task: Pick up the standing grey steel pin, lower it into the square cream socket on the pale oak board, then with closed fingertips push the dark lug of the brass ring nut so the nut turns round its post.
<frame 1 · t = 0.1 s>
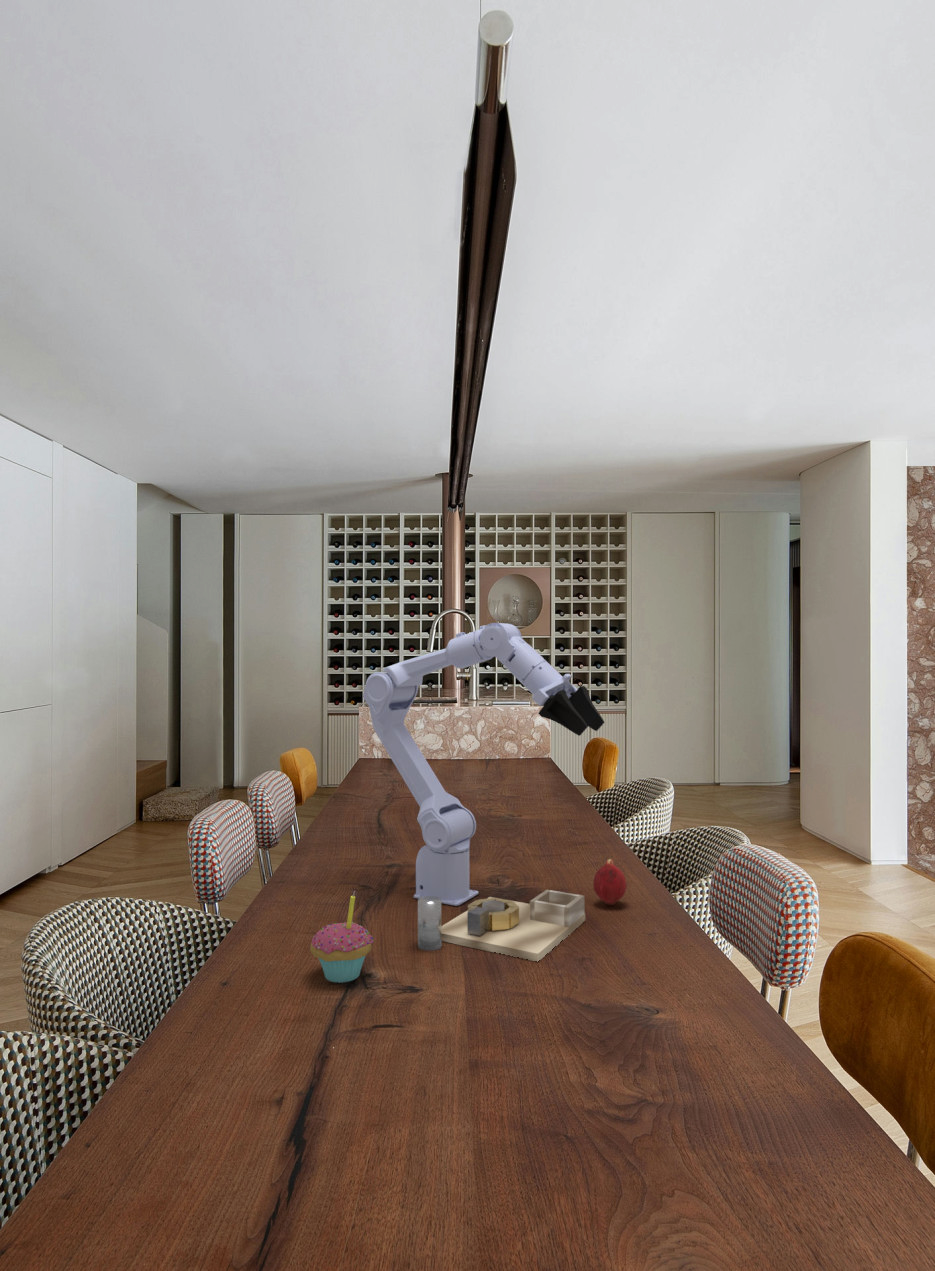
hand: (592, 728, 127), 32 cm above the table, tool tilted 50°, fingers open, 7 cm apart
ring nut: (489, 913, 123), point 3 cm above the table, hinge at 0.0°
pin: (429, 946, 117), on the table
onion: (610, 906, 135), on the table
board: (511, 929, 124), on the table
cupcake: (341, 977, 107), on the table
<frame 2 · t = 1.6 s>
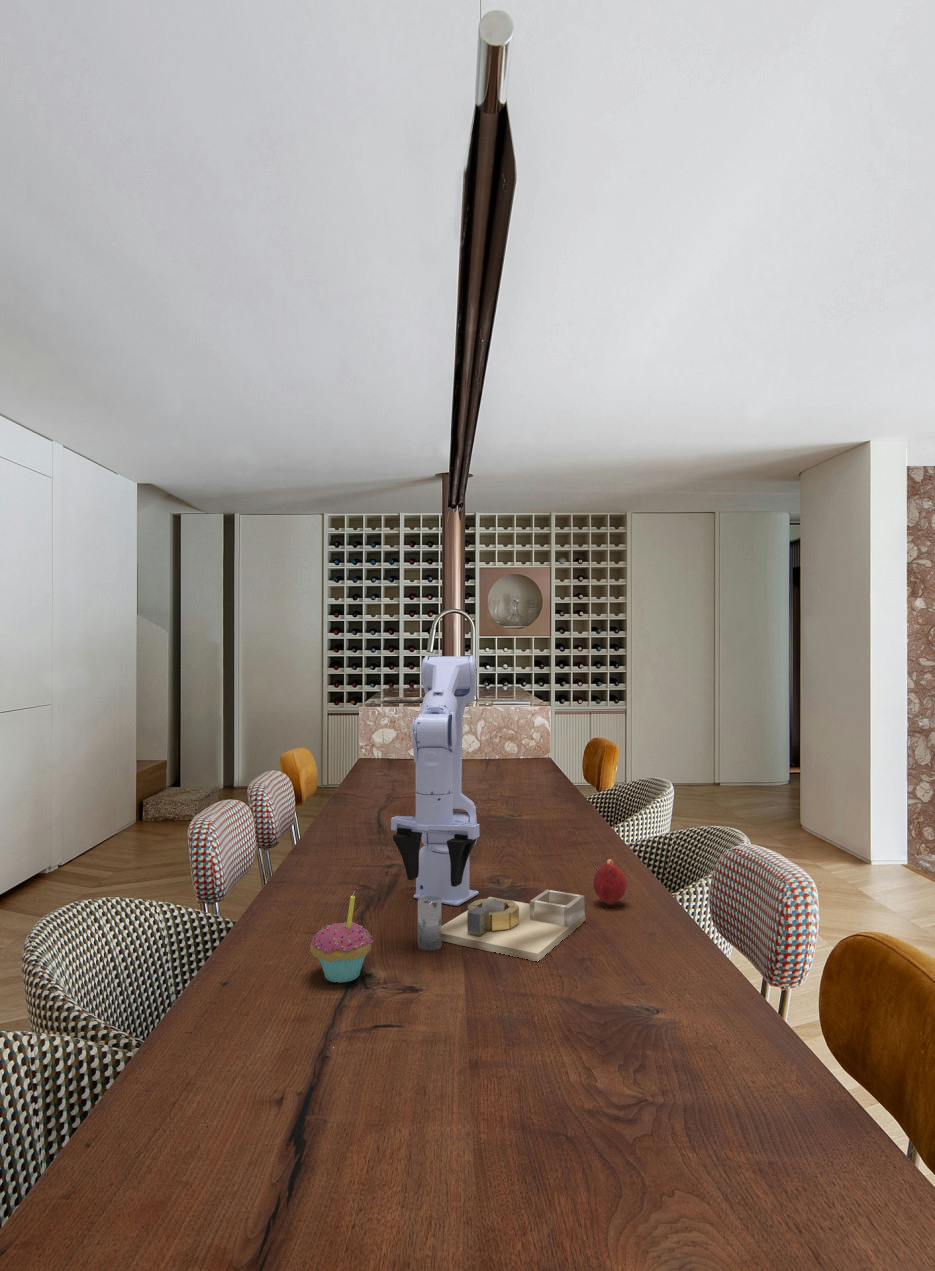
hand: (434, 881, 117), 10 cm above the table, tool pointing down, fingers open, 7 cm apart
nothing on the table moved.
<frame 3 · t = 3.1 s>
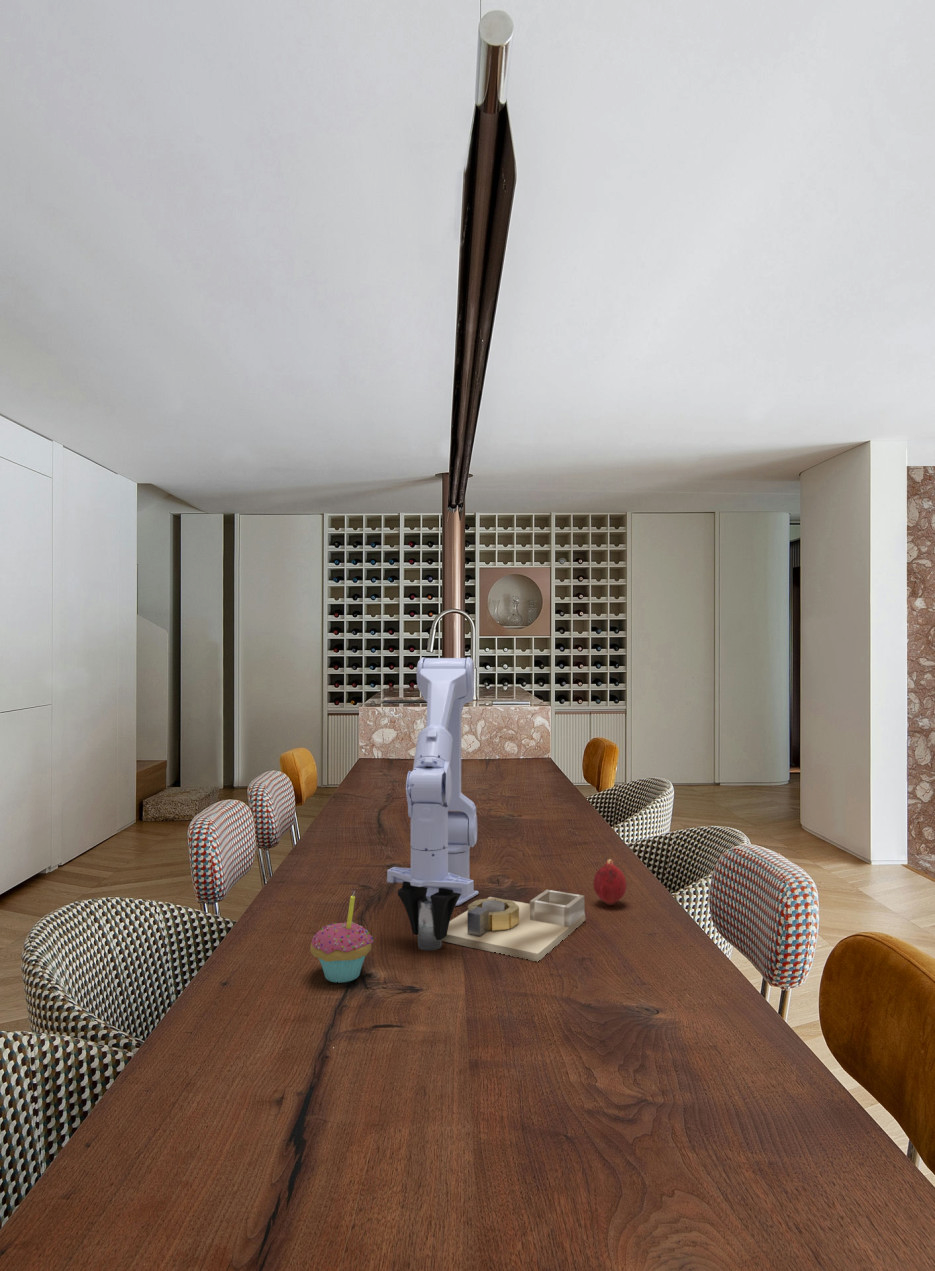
hand: (429, 935, 117), 2 cm above the table, tool pointing down, fingers closed on pin, 4 cm apart
pin: (429, 945, 117), on the table, touching gripper
everything else where it was.
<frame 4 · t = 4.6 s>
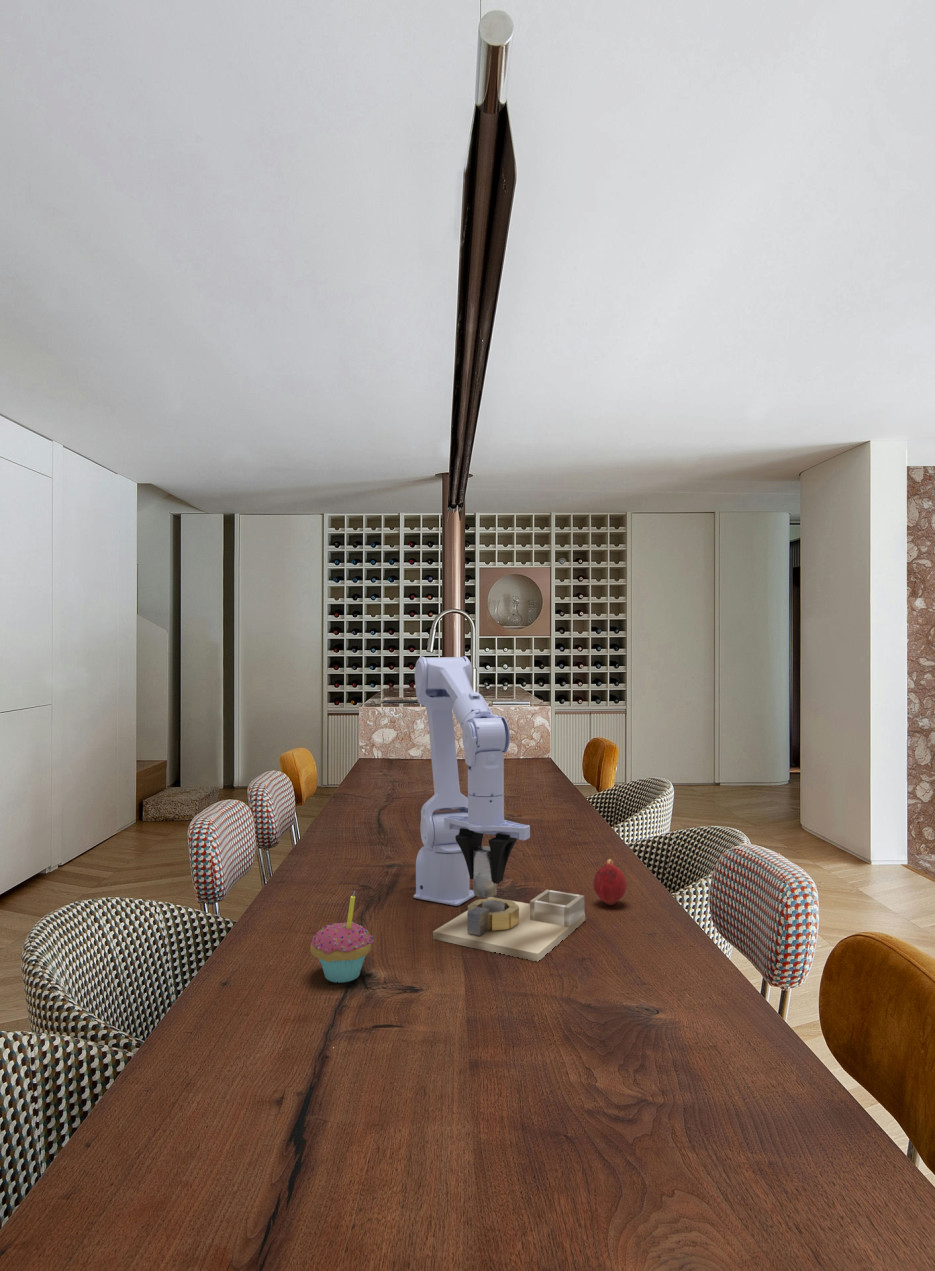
hand: (486, 879, 121), 9 cm above the table, tool pointing down, fingers closed on pin, 4 cm apart
pin: (485, 893, 121), point 7 cm above the table, touching gripper
everything else where it was.
when the fingers open (5 cm above the table, at t = 6.4 s): pin drops 1 cm, resting on board.
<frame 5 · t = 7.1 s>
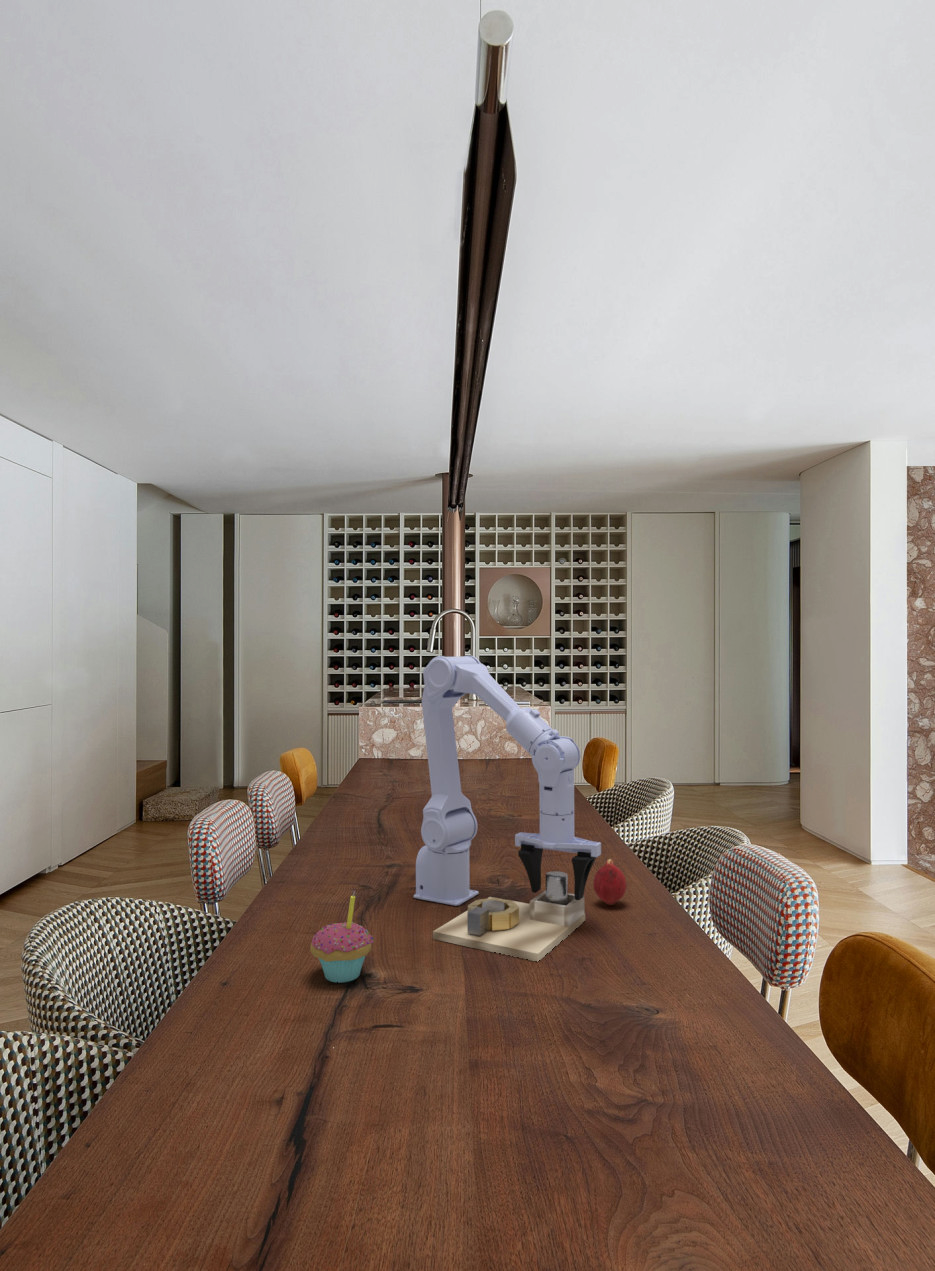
hand: (557, 894, 126), 5 cm above the table, tool pointing down, fingers open, 7 cm apart
pin: (556, 917, 126), point 1 cm above the table, touching board
everything else where it was.
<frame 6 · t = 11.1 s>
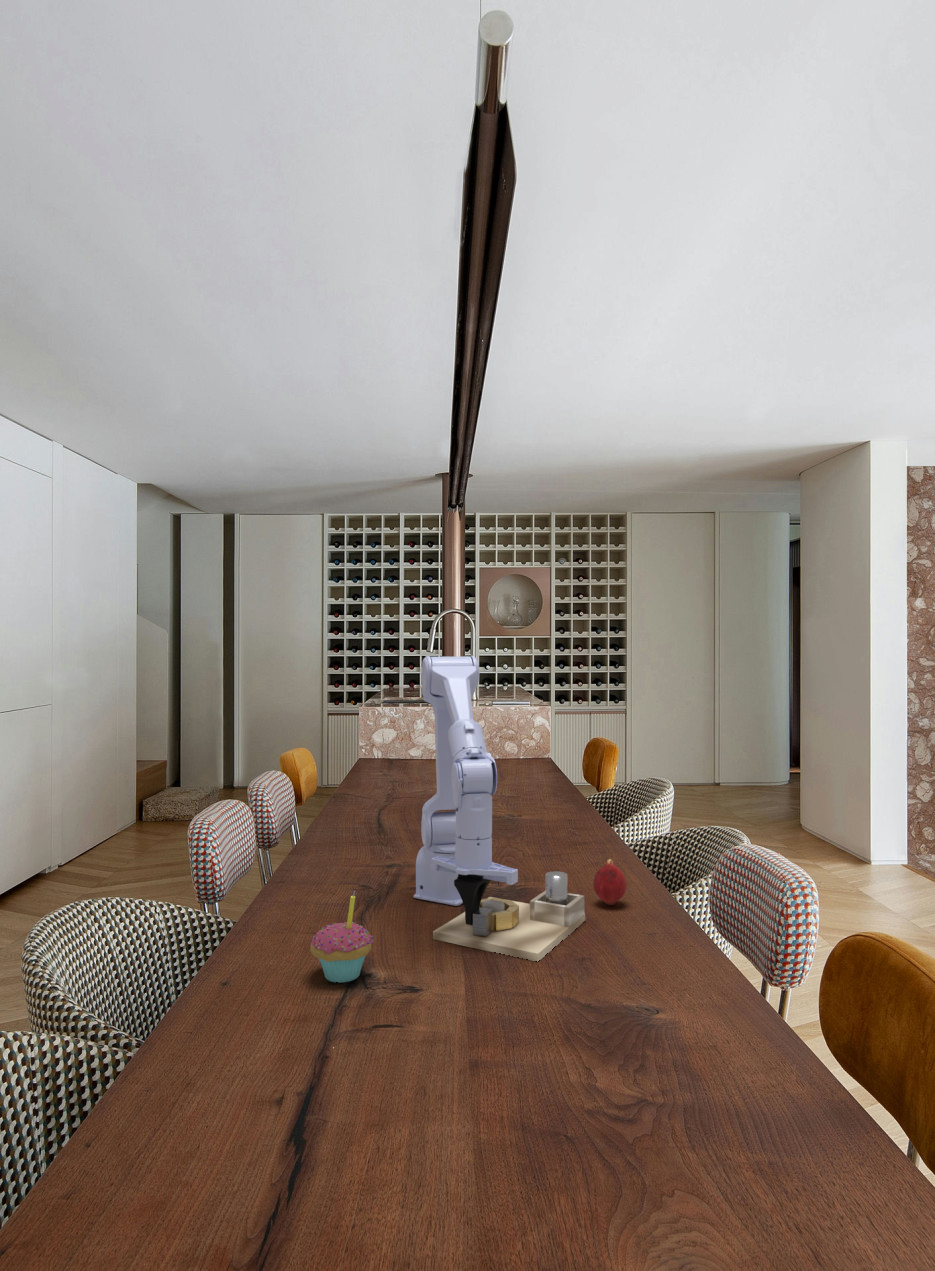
hand: (473, 923, 120), 3 cm above the table, tool pointing down, fingers closed, pressing on ring nut
ring nut: (490, 914, 123), point 3 cm above the table, hinge at 8.9°, touching gripper
everything else where it was.
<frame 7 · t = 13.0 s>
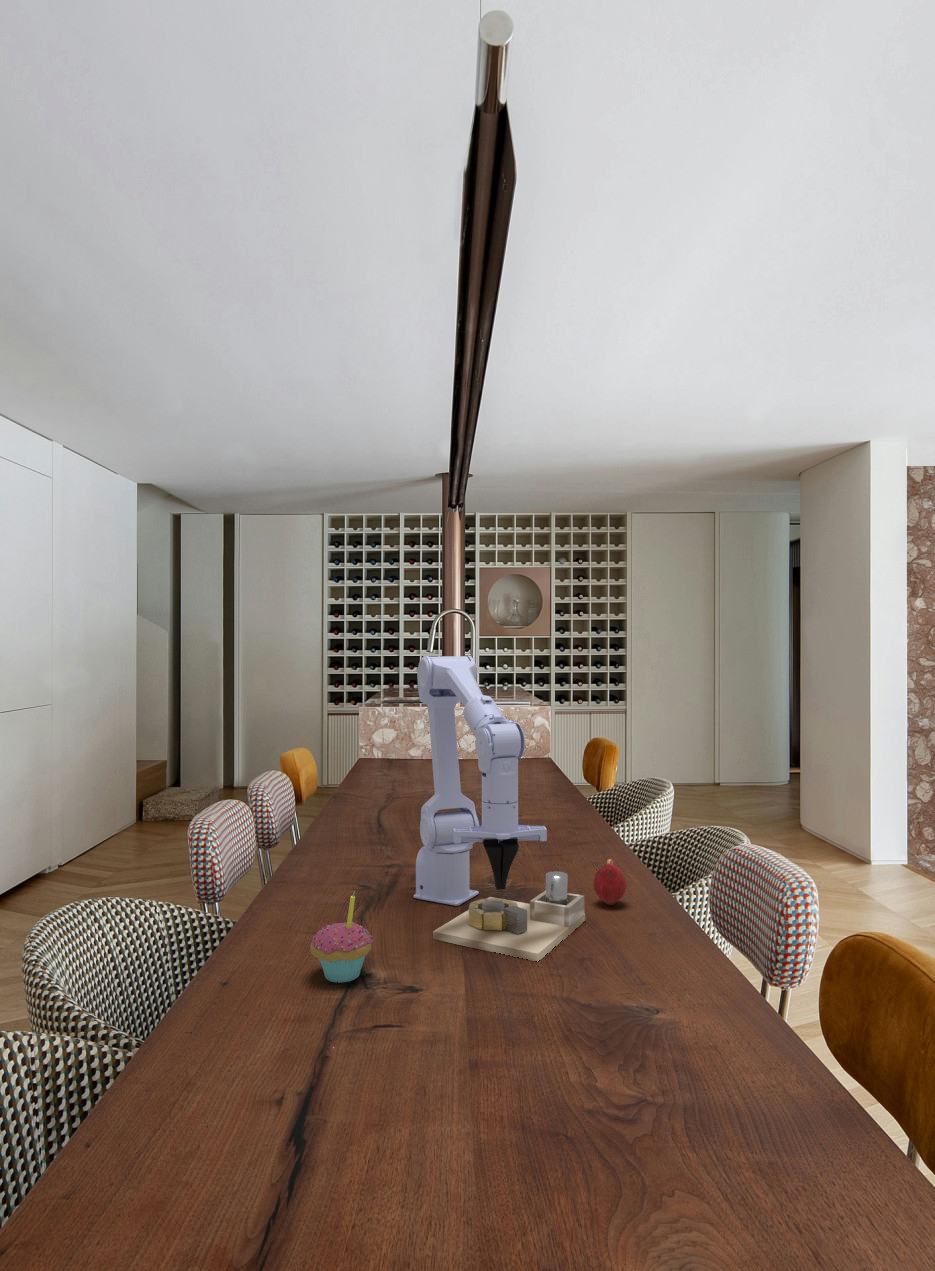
hand: (500, 887, 120), 8 cm above the table, tool pointing down, fingers closed
ring nut: (498, 913, 123), point 3 cm above the table, hinge at 71.3°
everything else where it was.
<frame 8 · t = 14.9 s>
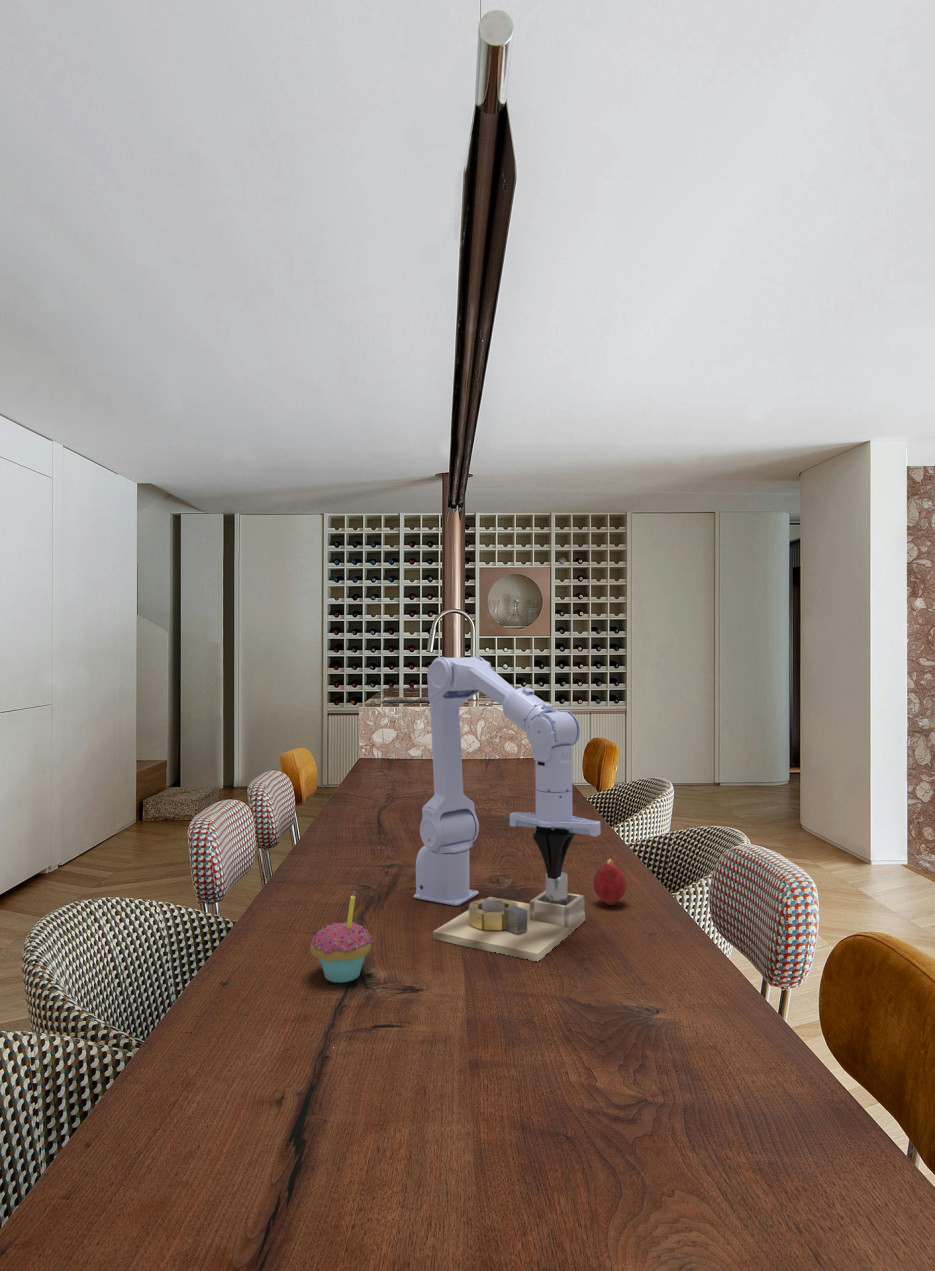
hand: (554, 877, 119), 10 cm above the table, tool pointing down, fingers closed
nothing on the table moved.
at the end: pin 0.3 cm from the target spot, point 1.2 cm above the table; pin tilted 0°; ring nut at +72° (first picture: +0°) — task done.
